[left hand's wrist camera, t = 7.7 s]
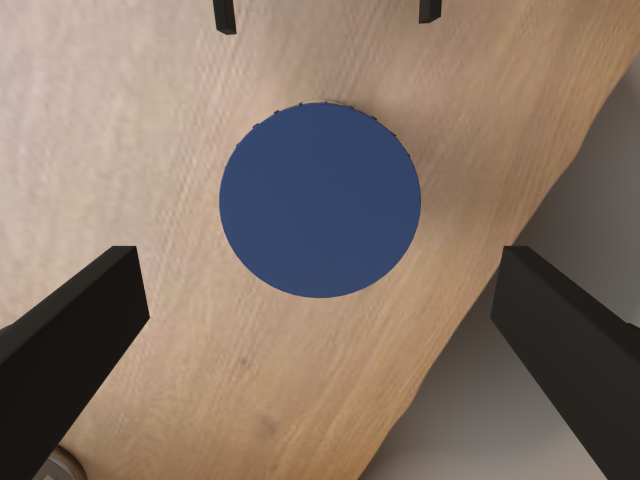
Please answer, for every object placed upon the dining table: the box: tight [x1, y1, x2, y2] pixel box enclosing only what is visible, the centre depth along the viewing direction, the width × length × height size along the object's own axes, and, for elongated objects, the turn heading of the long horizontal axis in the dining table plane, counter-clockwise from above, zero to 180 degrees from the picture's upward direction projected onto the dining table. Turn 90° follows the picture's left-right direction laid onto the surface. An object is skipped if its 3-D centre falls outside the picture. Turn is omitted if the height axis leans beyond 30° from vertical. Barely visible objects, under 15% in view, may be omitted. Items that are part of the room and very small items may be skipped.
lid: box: [219, 101, 421, 298], centre depth 21 cm, size 11×11×2 cm
